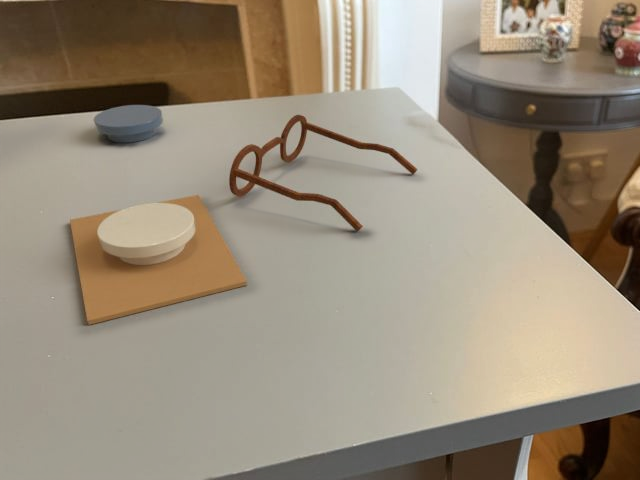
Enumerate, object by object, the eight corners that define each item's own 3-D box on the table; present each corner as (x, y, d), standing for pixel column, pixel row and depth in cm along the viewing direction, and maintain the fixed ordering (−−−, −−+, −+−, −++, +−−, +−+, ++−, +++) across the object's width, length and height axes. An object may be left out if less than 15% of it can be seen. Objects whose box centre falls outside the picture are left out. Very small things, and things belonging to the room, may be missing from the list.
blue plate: (84, 143, 71) (79, 123, 70) (122, 120, 77) (118, 102, 76) (143, 149, 70) (139, 129, 69) (177, 125, 76) (173, 107, 74)
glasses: (302, 154, 68) (298, 107, 66) (417, 174, 64) (419, 125, 61) (229, 206, 59) (220, 154, 56) (360, 234, 54) (358, 179, 51)
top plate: (84, 265, 50) (76, 240, 48) (136, 221, 55) (130, 198, 54) (169, 277, 48) (163, 252, 47) (214, 231, 54) (209, 207, 53)
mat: (70, 223, 56) (69, 219, 56) (199, 198, 60) (198, 194, 60) (88, 325, 44) (86, 320, 44) (247, 285, 48) (246, 280, 48)
